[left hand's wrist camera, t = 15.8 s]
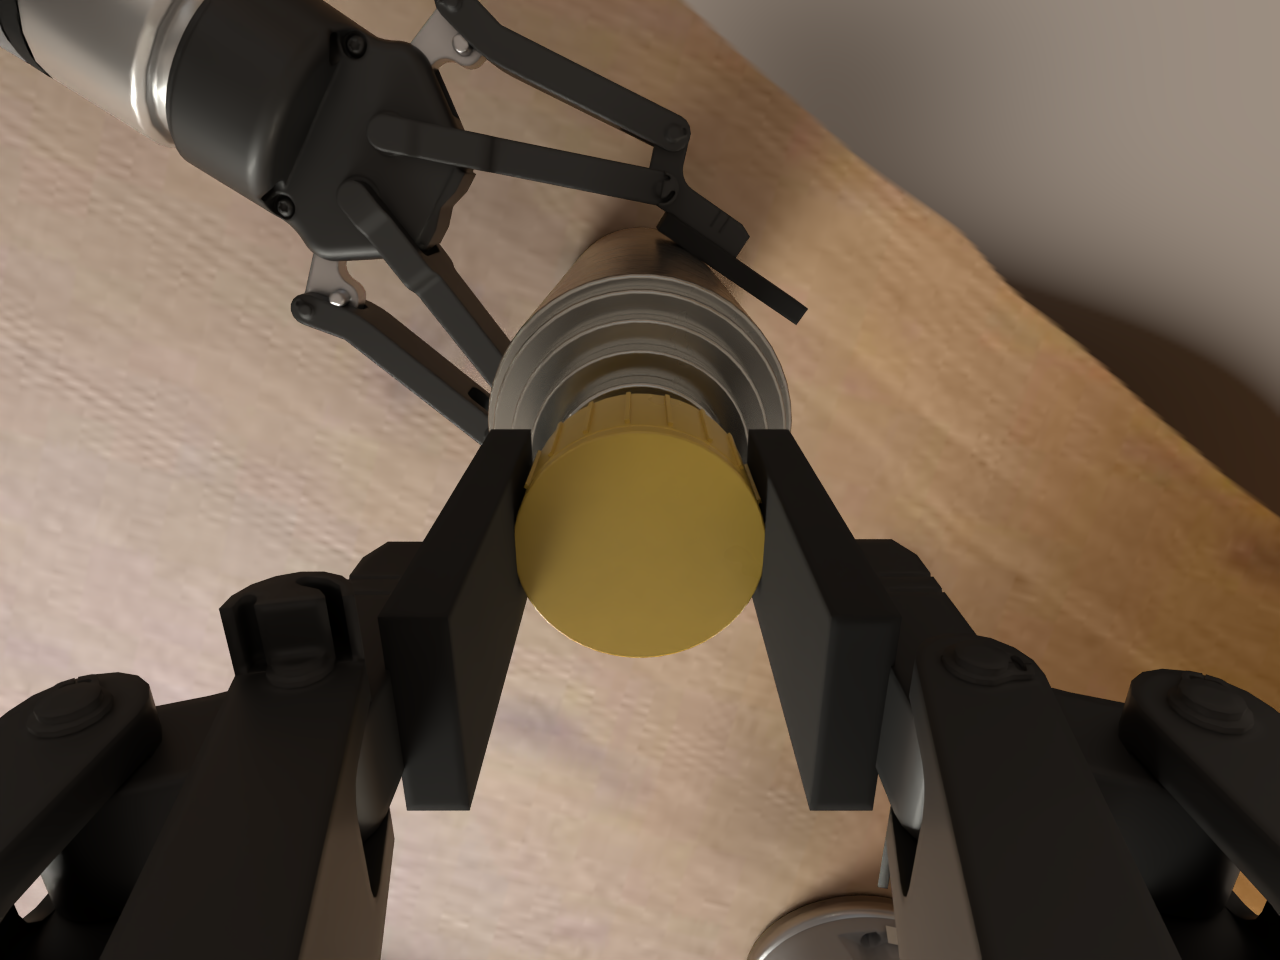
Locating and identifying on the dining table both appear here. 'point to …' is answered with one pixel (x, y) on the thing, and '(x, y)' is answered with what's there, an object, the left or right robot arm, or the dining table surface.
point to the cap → (639, 528)
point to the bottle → (639, 344)
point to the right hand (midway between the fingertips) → (736, 393)
